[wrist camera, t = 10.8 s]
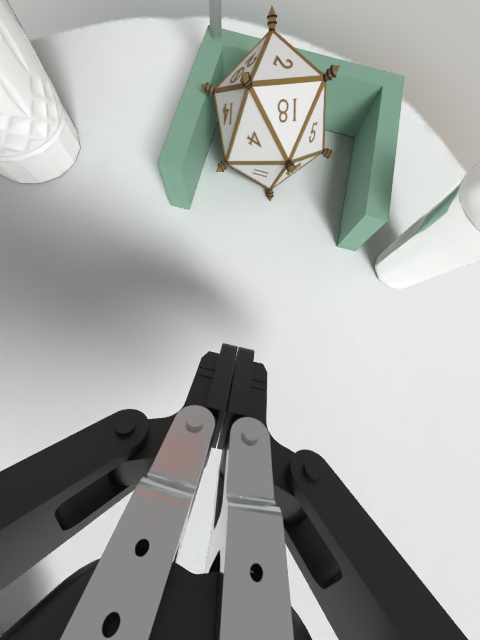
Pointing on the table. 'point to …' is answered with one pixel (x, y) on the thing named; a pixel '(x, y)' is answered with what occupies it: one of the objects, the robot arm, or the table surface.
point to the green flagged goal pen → (340, 116)
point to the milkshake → (437, 238)
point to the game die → (272, 111)
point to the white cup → (30, 111)
